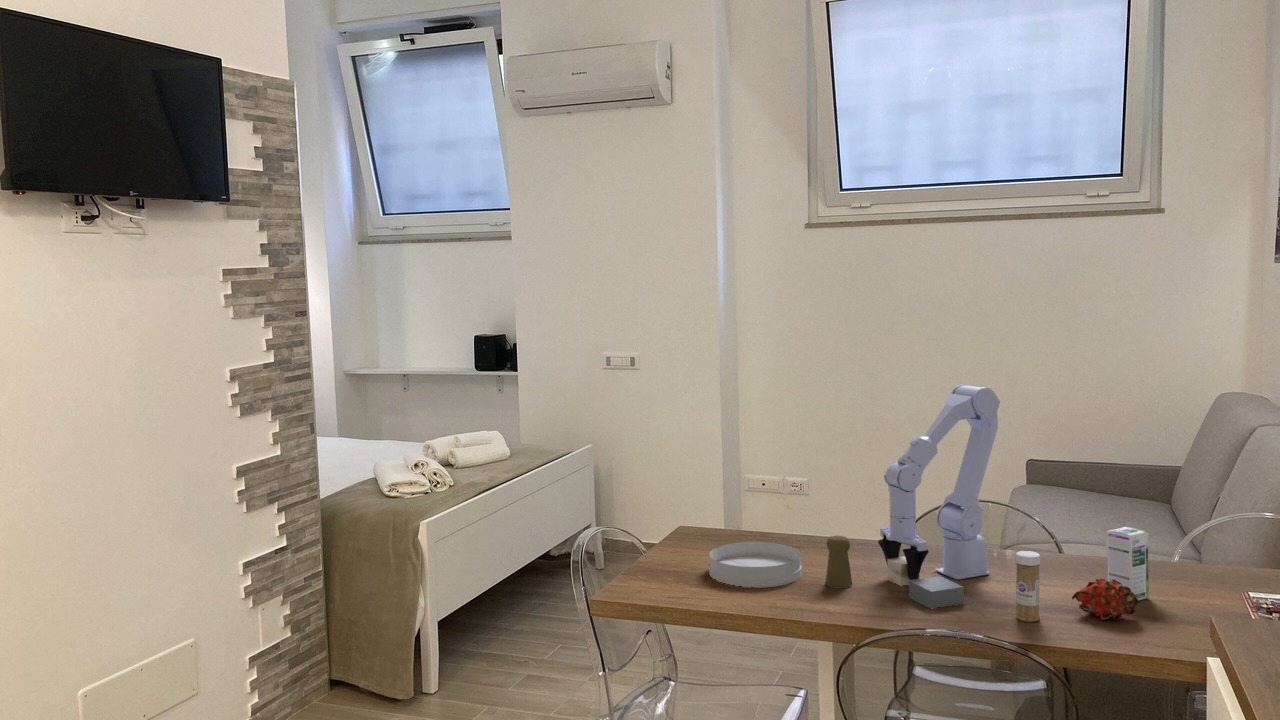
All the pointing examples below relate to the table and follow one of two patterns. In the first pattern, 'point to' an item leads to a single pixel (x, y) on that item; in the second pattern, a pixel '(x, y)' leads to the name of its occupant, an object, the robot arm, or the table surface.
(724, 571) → the dish
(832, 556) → the cork
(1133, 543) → the syrup box
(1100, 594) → the dragon fruit
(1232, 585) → the table surface
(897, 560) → the beech cube
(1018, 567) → the sprinkles bottle
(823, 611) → the table surface
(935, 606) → the grey block
